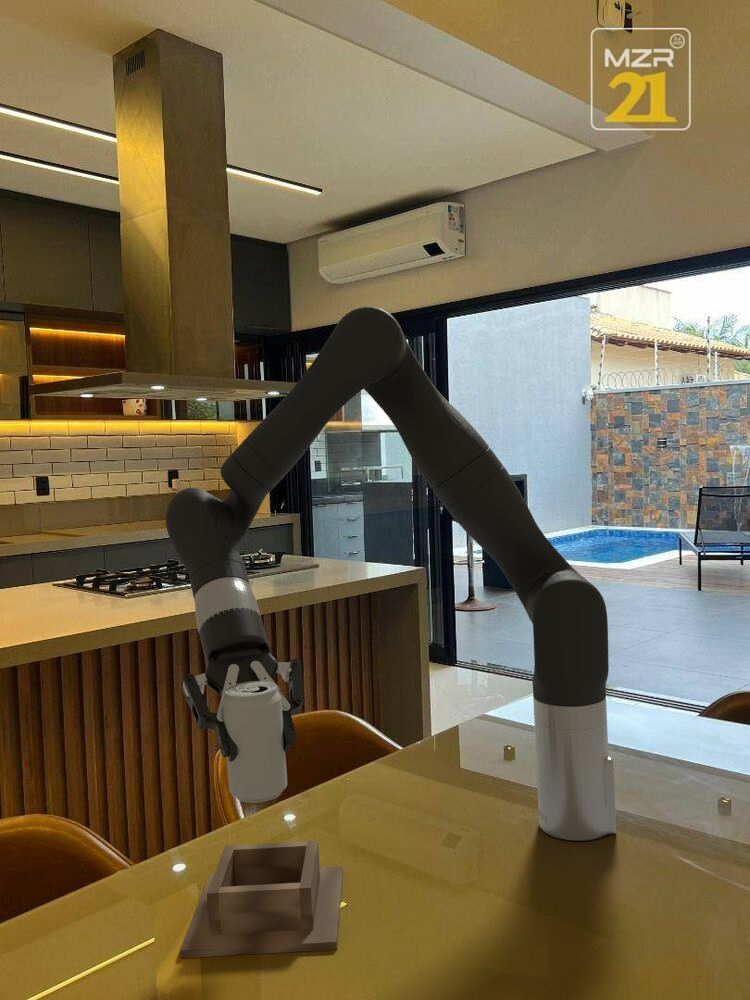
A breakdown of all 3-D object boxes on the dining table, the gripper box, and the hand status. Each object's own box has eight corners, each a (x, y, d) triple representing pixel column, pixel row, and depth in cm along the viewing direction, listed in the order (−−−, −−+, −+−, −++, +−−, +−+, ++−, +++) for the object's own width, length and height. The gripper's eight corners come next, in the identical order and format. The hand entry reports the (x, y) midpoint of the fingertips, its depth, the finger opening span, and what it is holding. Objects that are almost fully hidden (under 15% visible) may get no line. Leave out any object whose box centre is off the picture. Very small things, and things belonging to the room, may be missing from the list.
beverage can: (277, 807, 92) (269, 696, 91) (220, 805, 93) (212, 696, 92) (294, 782, 98) (288, 679, 97) (241, 781, 100) (234, 678, 99)
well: (343, 872, 104) (340, 829, 104) (337, 949, 88) (333, 899, 88) (210, 879, 104) (207, 837, 104) (180, 957, 88) (176, 907, 88)
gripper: (171, 613, 99) (197, 748, 88) (292, 598, 104) (330, 724, 94) (167, 650, 104) (192, 781, 94) (283, 634, 109) (318, 756, 99)
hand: (261, 752), depth 94 cm, fingers closed on beverage can, 5 cm apart
